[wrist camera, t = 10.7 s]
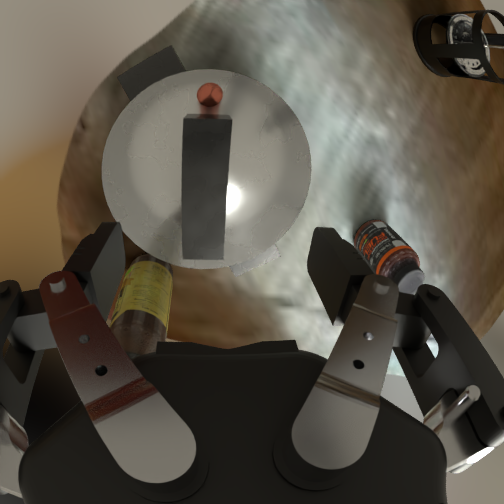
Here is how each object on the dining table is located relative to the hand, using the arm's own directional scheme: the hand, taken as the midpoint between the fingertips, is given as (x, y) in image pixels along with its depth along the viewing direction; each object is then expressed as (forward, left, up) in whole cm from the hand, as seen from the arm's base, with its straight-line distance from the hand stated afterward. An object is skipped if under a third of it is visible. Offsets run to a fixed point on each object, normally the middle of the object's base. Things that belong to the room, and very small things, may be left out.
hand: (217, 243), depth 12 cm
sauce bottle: (+17, -8, -23) cm, 29 cm away
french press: (-19, +28, -23) cm, 41 cm away
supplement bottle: (+11, +22, -23) cm, 33 cm away
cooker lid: (+1, -1, -13) cm, 13 cm away
